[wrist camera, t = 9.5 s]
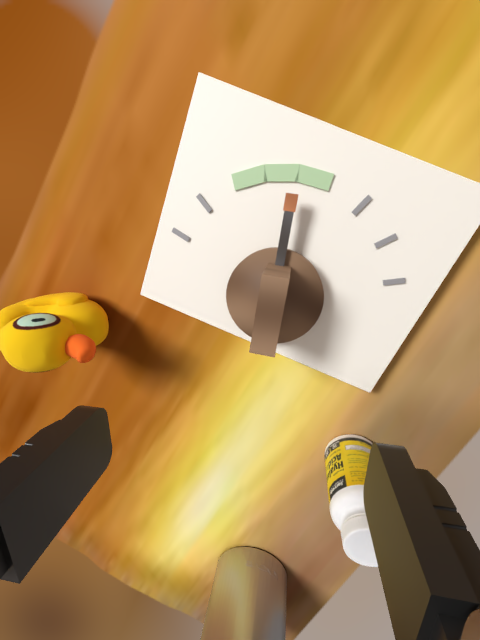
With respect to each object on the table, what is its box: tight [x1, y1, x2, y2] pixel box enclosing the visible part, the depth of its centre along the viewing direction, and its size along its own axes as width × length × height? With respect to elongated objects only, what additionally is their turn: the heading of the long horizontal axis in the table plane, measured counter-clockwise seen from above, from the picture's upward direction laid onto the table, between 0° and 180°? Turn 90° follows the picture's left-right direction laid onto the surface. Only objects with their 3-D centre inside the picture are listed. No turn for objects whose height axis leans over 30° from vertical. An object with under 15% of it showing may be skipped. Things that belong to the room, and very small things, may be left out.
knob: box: [226, 193, 324, 357], centre depth 23 cm, size 12×8×6 cm, turn 173°
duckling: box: [0, 292, 109, 372], centre depth 27 cm, size 11×5×10 cm, turn 84°
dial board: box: [140, 72, 480, 393], centre depth 25 cm, size 18×23×2 cm
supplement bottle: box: [325, 434, 378, 567], centre depth 27 cm, size 5×5×10 cm
